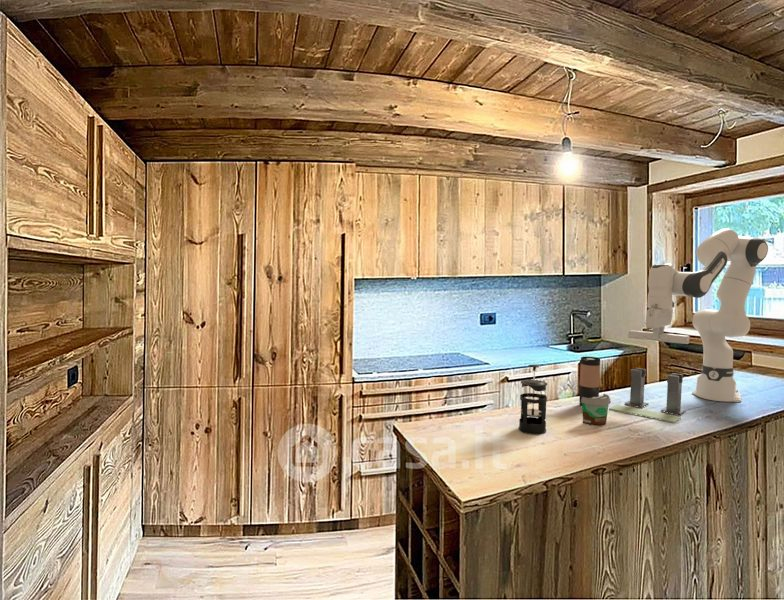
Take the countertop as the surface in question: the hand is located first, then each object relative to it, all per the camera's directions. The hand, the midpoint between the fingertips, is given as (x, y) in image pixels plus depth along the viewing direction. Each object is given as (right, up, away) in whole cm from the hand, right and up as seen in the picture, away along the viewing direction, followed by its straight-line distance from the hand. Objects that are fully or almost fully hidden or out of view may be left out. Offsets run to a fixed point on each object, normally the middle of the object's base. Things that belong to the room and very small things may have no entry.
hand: (657, 337), depth 209 cm
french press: (-58, -30, -28) cm, 71 cm away
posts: (0, -29, +2) cm, 29 cm away
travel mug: (-26, -29, +4) cm, 39 cm away
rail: (0, -1, 0) cm, 1 cm away
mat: (-9, -29, -6) cm, 31 cm away
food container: (-32, -30, -20) cm, 48 cm away
